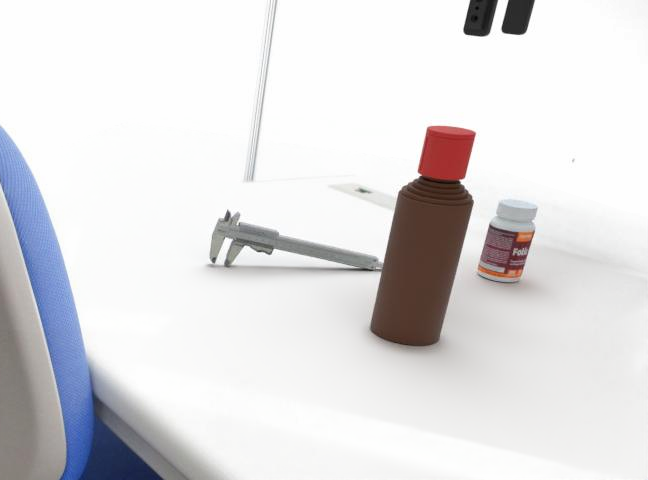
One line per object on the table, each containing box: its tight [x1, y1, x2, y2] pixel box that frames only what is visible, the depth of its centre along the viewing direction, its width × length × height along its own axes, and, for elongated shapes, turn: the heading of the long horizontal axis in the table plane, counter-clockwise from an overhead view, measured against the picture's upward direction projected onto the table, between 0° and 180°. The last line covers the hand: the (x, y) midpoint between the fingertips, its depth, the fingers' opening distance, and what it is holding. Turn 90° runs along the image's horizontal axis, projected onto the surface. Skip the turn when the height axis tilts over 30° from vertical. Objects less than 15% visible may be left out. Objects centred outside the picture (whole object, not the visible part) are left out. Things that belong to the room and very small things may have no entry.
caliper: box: [209, 208, 384, 272], centre depth 97 cm, size 20×1×6 cm, turn 95°
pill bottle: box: [476, 198, 539, 283], centre depth 98 cm, size 5×5×8 cm
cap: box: [416, 125, 477, 181], centre depth 75 cm, size 4×4×4 cm
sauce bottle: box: [369, 174, 475, 346], centre depth 79 cm, size 6×6×18 cm
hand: (494, 35), depth 80 cm, fingers open, 8 cm apart
